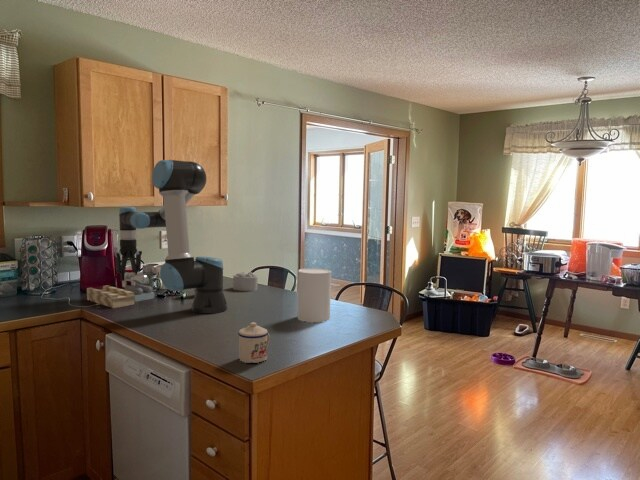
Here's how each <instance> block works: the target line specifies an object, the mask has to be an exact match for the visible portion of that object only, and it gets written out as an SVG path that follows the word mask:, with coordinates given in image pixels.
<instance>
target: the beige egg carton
mask: <svg viewBox="0 0 640 480" xmlns="http://www.w3.org/2000/svg"><path fill="white" fill-rule="evenodd" d="M86 300H87V301H89V300H90V301H89V302H93V303H97V304H99V305H101V306H106V307H109V308H111V309H116V308H121V307H127V306H132V305H135V302H134V292H131V291H127V290H125V289H123V288H119V287H115V286H111V285H107V284H106V285H102V288H101V289H98V288H94V287H87V288H86Z"/></svg>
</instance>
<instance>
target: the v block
mask: <svg viewBox="0 0 640 480" xmlns="http://www.w3.org/2000/svg"><path fill="white" fill-rule="evenodd" d="M123 288H124V289H123V290H127V291H131V292H134V303H135V302H142V301H147V300H153V299H155V292H154V291H153V290H154V289H153V287H152V286H149V285H146V284H142V283H136V285H135V286H132V285H131V284H130V285H128V284H127V285H126V286H125V287H123Z"/></svg>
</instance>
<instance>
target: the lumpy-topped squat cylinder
mask: <svg viewBox="0 0 640 480" xmlns="http://www.w3.org/2000/svg"><path fill="white" fill-rule="evenodd" d="M232 276H233V277H232V279H233V282H232V286H233V287H232V288H233V290H235V291H241V292H256V291H257V290H258V276H257V274H255V273H254V272H252V271H250V272H248V273H247V272H244V271H243V272H238V273H236V274H234V275H232Z"/></svg>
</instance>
